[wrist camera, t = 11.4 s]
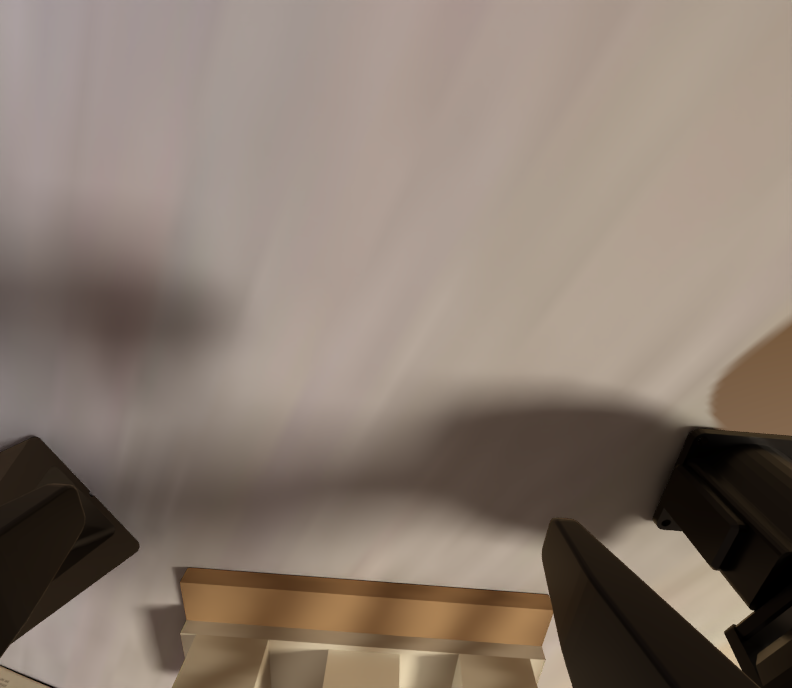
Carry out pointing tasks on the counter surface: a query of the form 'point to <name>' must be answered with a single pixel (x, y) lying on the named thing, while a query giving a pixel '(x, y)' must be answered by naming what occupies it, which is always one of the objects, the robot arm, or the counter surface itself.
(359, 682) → the block
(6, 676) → the coffee box
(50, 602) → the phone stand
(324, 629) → the board
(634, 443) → the counter surface
